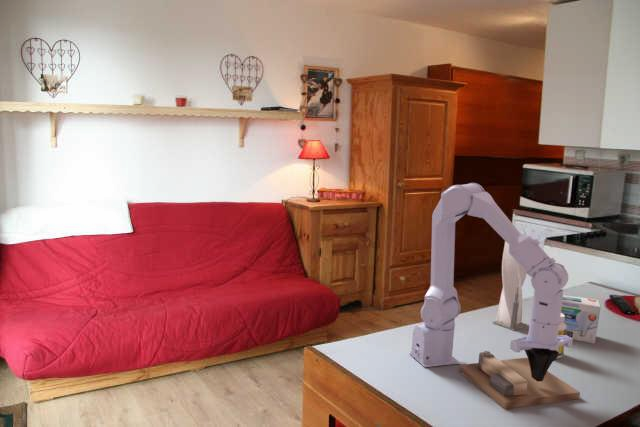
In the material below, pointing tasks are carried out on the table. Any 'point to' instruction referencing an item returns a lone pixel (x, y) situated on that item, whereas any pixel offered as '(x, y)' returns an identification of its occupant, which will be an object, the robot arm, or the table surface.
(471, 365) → the stool seat
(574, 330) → the light bulb box
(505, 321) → the skyscraper
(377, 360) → the table surface
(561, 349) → the pill bottle
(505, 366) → the folding leg
